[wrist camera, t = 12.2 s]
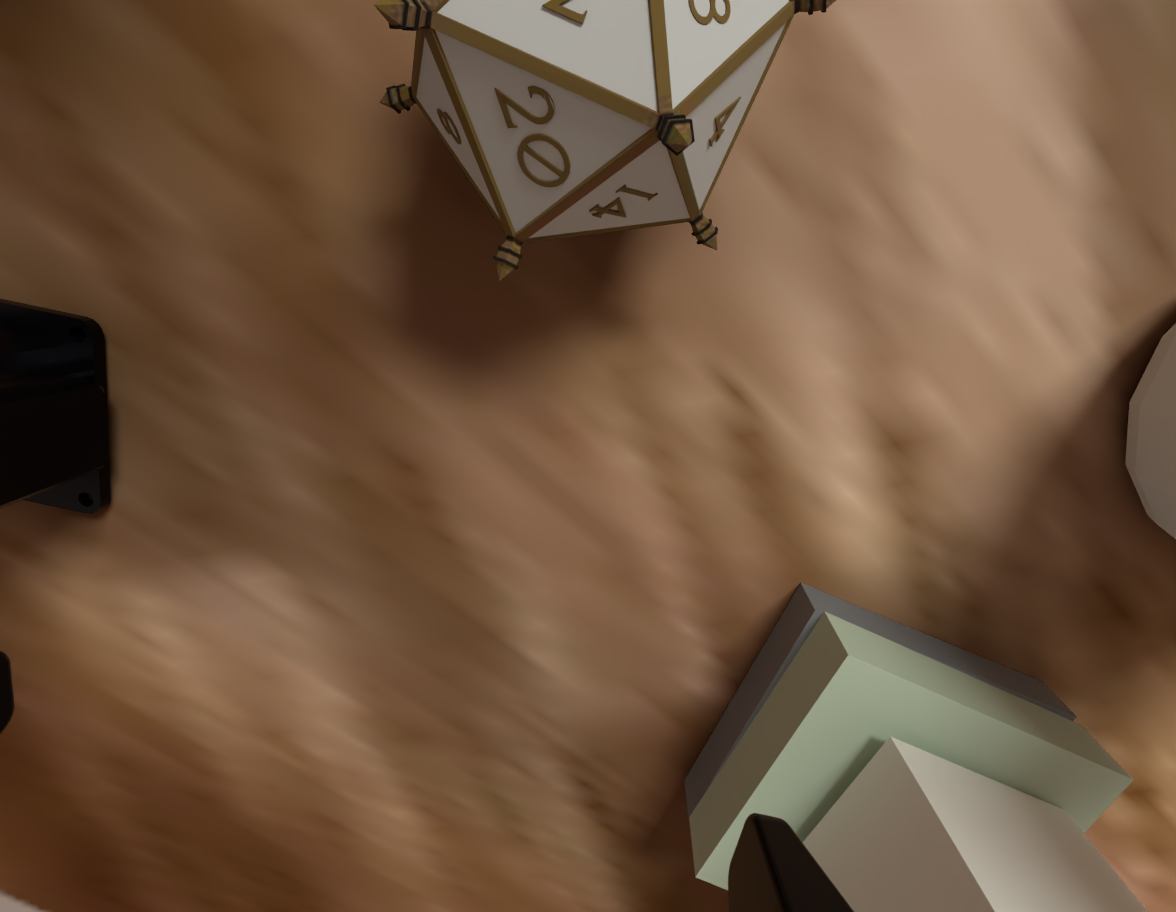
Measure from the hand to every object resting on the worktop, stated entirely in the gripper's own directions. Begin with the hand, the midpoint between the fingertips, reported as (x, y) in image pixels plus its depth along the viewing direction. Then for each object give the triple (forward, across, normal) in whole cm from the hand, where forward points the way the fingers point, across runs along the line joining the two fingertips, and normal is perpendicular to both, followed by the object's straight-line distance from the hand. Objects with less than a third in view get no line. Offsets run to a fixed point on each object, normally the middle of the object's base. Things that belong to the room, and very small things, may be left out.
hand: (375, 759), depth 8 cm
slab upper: (+11, -13, +8) cm, 19 cm away
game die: (+13, 0, -10) cm, 17 cm away
